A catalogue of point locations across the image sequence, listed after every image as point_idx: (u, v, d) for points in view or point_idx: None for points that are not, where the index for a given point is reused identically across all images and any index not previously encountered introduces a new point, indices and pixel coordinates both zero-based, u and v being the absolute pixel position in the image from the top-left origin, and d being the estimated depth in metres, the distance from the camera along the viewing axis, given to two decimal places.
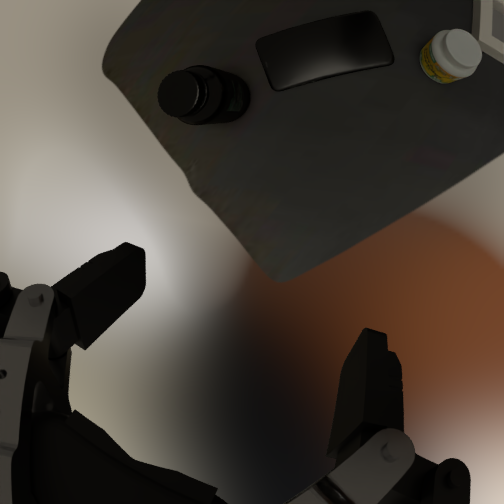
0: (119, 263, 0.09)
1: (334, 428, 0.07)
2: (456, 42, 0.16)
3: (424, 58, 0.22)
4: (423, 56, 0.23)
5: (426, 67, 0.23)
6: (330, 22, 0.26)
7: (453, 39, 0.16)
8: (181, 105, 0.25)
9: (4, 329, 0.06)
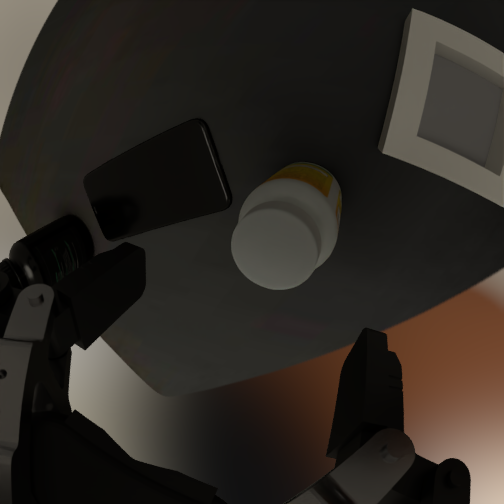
0: (119, 263, 0.09)
1: (334, 428, 0.07)
2: (254, 244, 0.13)
3: None
4: None
5: None
6: (146, 149, 0.23)
7: (247, 238, 0.13)
8: None
9: (4, 329, 0.06)
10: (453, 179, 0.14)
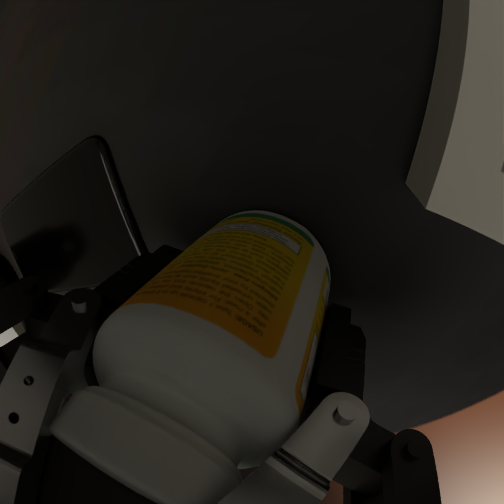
0: (163, 266, 0.09)
1: None
2: None
3: None
4: None
5: None
6: (44, 185, 0.14)
7: None
8: None
9: (35, 337, 0.06)
10: None
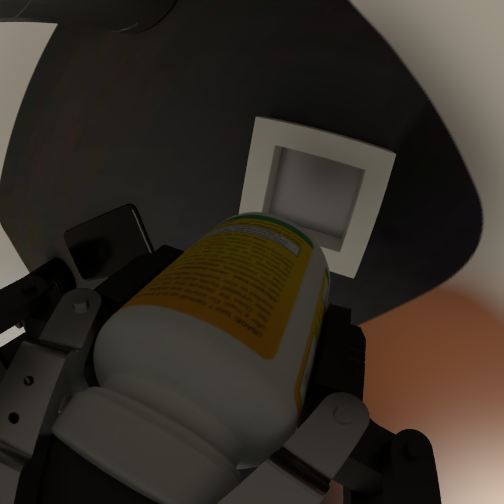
0: (163, 266, 0.09)
1: None
2: None
3: None
4: None
5: None
6: (101, 222, 0.32)
7: None
8: None
9: (35, 337, 0.06)
10: None
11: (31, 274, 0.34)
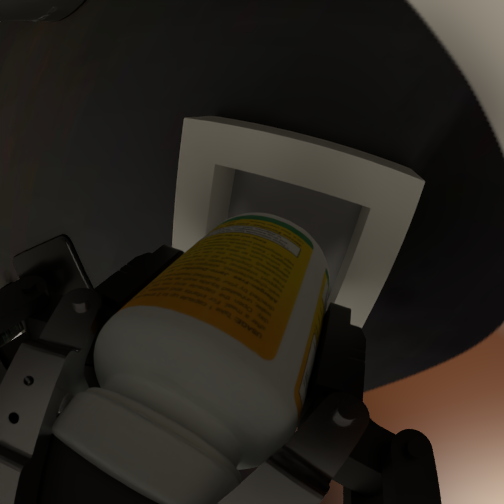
0: (163, 266, 0.09)
1: None
2: None
3: None
4: None
5: None
6: (40, 253, 0.24)
7: None
8: None
9: (35, 337, 0.06)
10: None
11: None
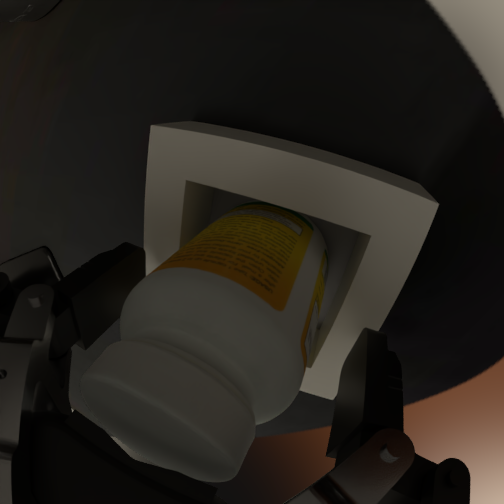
0: (119, 263, 0.09)
1: (334, 428, 0.07)
2: (116, 418, 0.05)
3: None
4: None
5: None
6: (24, 263, 0.22)
7: (102, 408, 0.05)
8: None
9: (4, 329, 0.06)
10: None
11: None
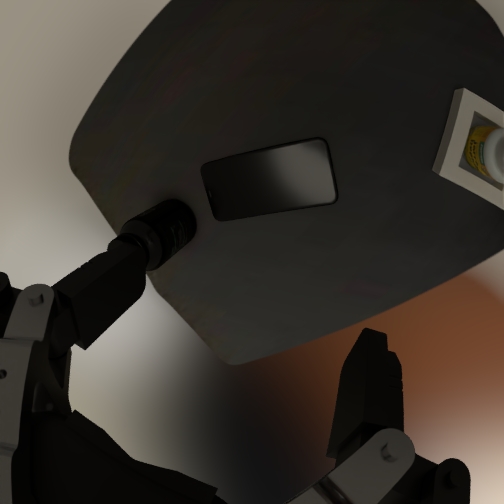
0: (119, 263, 0.09)
1: (334, 428, 0.07)
2: None
3: (470, 150, 0.22)
4: (468, 146, 0.22)
5: (469, 159, 0.23)
6: (275, 152, 0.32)
7: None
8: None
9: (4, 329, 0.06)
10: (475, 192, 0.24)
11: (149, 212, 0.34)
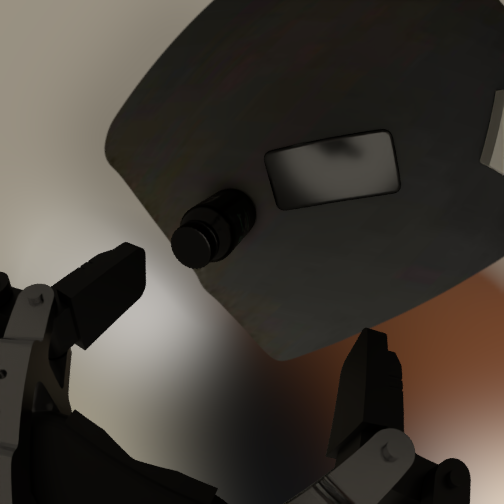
0: (119, 263, 0.09)
1: (334, 428, 0.07)
2: None
3: None
4: None
5: None
6: (343, 142, 0.31)
7: None
8: (195, 260, 0.30)
9: (4, 329, 0.06)
10: None
11: (213, 199, 0.34)
